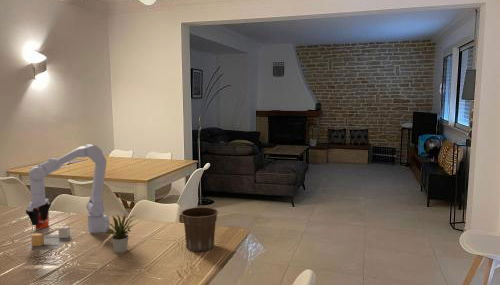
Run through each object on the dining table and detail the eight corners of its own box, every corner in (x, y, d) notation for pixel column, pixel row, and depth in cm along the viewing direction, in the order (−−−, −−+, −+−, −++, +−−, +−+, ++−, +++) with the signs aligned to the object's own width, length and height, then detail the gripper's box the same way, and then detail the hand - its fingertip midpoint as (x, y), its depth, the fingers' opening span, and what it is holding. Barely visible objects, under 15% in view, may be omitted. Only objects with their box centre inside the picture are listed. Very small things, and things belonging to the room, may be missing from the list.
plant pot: (195, 238, 183) (195, 205, 181) (225, 243, 176) (224, 209, 174) (174, 249, 168) (173, 214, 166) (205, 256, 161) (205, 219, 159)
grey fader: (70, 235, 182) (69, 225, 181) (67, 238, 179) (66, 227, 178) (61, 235, 182) (61, 225, 181) (58, 238, 179) (58, 227, 178)
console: (74, 236, 184) (74, 234, 184) (56, 251, 167) (56, 248, 166) (45, 236, 184) (45, 234, 184) (24, 251, 166) (23, 248, 166)
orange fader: (44, 243, 172) (43, 233, 171) (40, 246, 169) (40, 235, 168) (35, 243, 172) (34, 233, 171) (31, 246, 169) (31, 235, 168)
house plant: (146, 246, 172) (145, 211, 170) (127, 258, 159) (126, 220, 157) (120, 242, 176) (119, 208, 175) (99, 254, 163) (97, 217, 162)
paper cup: (43, 231, 192) (41, 204, 190) (30, 230, 193) (28, 203, 192) (54, 226, 199) (52, 200, 198) (41, 225, 201) (39, 199, 199)
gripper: (37, 189, 181) (39, 217, 183) (19, 197, 167) (21, 227, 168) (52, 189, 181) (54, 217, 183) (35, 197, 167) (37, 227, 168)
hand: (39, 222), depth 175 cm, fingers open, 7 cm apart
